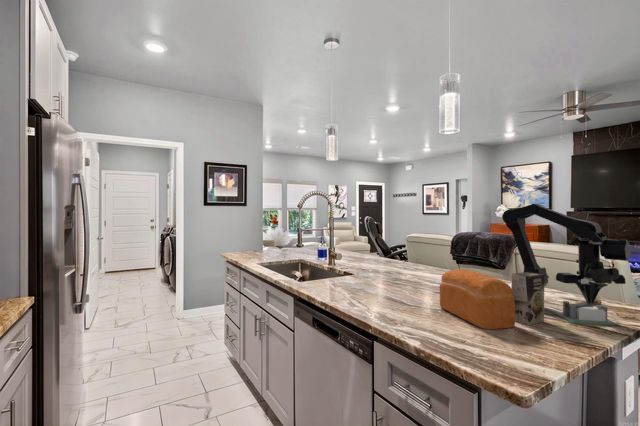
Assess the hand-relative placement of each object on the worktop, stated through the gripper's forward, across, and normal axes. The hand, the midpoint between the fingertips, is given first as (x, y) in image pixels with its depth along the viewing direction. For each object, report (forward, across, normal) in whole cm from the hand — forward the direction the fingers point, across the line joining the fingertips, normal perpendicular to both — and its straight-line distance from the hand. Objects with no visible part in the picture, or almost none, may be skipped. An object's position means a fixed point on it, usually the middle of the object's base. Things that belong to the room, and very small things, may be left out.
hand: (590, 302), depth 113 cm
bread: (+5, -39, -2) cm, 39 cm away
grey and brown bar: (+1, -2, 0) cm, 2 cm away
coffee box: (+6, -22, -4) cm, 23 cm away
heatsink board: (+6, -2, 0) cm, 6 cm away
